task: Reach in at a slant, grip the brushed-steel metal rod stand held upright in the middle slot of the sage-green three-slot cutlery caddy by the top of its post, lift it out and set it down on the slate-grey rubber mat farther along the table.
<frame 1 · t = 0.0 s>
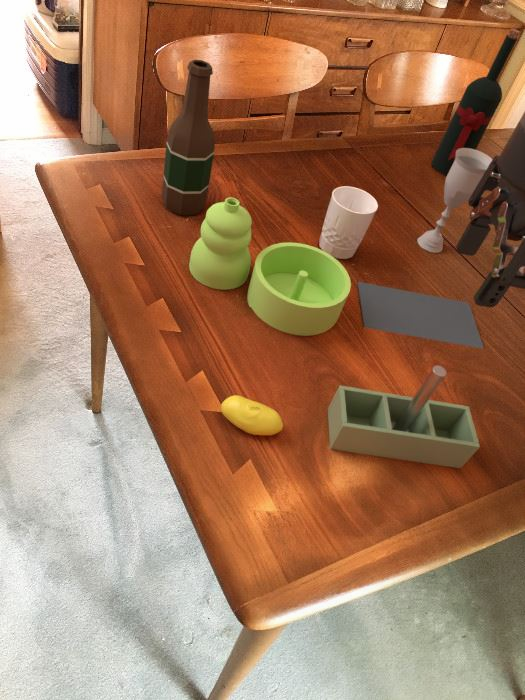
hand: (473, 276, 59), 24 cm above the table, tool pointing down, fingers open, 8 cm apart
chalice: (429, 245, 106), on the table
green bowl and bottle: (262, 290, 87), on the table
mat: (420, 322, 90), on the table
wine bottle: (445, 171, 130), on the table
white cup: (336, 248, 99), on the table
lemon: (248, 425, 69), on the table
beer bottle: (183, 204, 98), on the table
caddy: (392, 440, 72), on the table
metal rod stand: (393, 438, 72), resting on caddy
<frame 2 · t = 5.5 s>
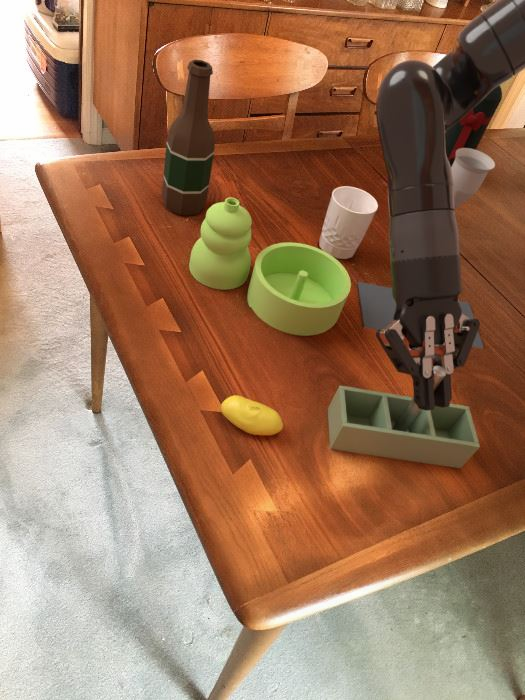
hand: (433, 407, 64), 10 cm above the table, tool tilted 45°, fingers closed on metal rod stand
metal rod stand: (393, 438, 72), point 1 cm above the table, touching caddy, gripper
everything else where it was.
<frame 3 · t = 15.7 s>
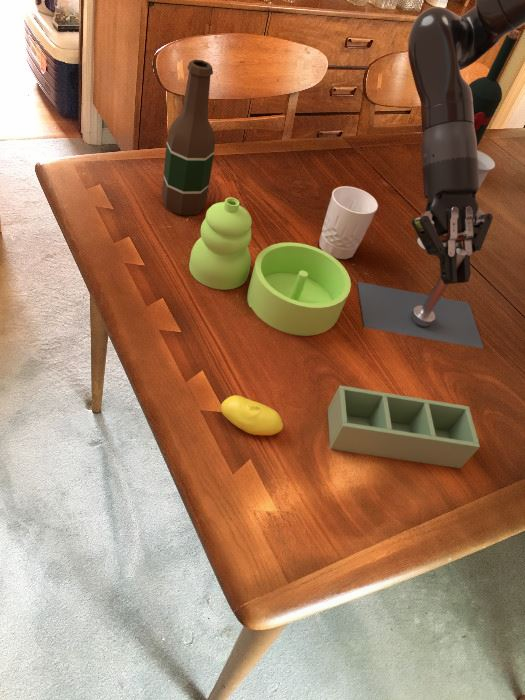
hand: (456, 282, 81), 10 cm above the table, tool tilted 45°, fingers closed on metal rod stand
metal rod stand: (421, 318, 89), point 1 cm above the table, touching gripper
everything else where it was.
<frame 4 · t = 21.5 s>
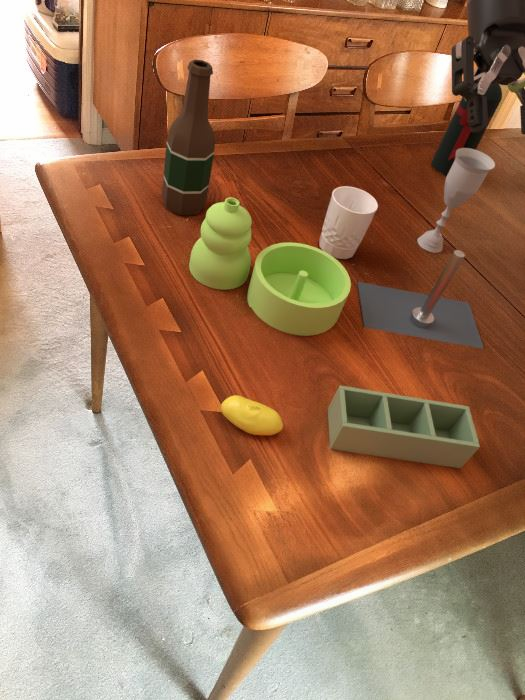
hand: (505, 131, 70), 31 cm above the table, tool tilted 45°, fingers open, 8 cm apart
metal rod stand: (420, 320, 90), resting on mat
everything else where it was.
at the end: metal rod stand inside the target area on the mat (0.1 cm from its centre), point 0.4 cm above the mat's base; metal rod stand touching mat; the gripper is holding nothing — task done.
